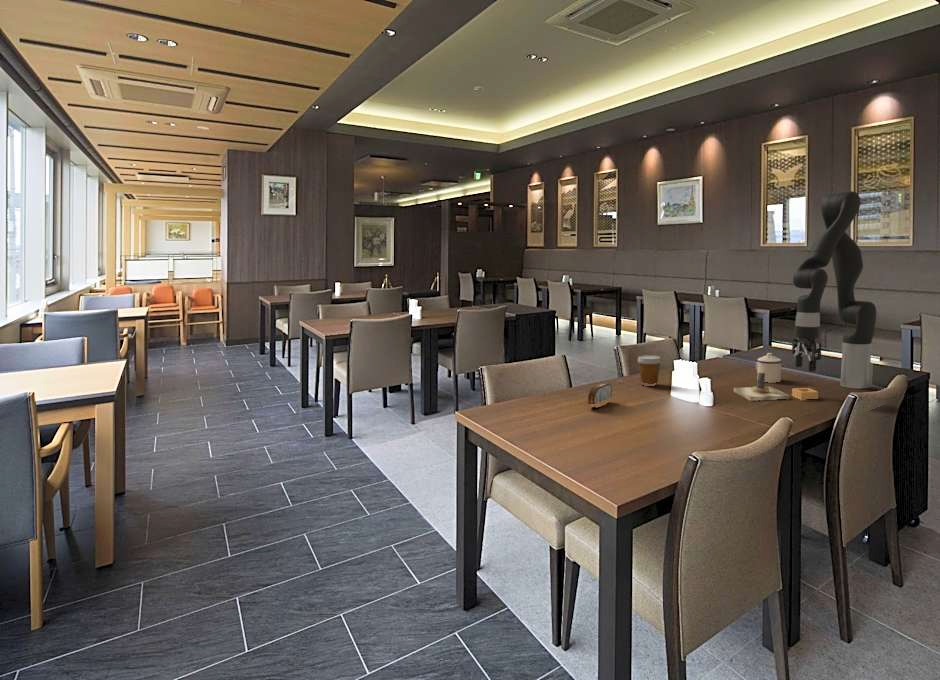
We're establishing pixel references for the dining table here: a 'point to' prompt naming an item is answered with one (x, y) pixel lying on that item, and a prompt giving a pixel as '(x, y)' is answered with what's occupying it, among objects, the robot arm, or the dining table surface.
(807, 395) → the orange square socket block
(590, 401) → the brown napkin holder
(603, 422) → the dining table surface
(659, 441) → the dining table surface
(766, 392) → the post stand
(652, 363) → the disposable coffee cup
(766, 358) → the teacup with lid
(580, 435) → the dining table surface
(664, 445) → the dining table surface
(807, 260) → the robot arm
